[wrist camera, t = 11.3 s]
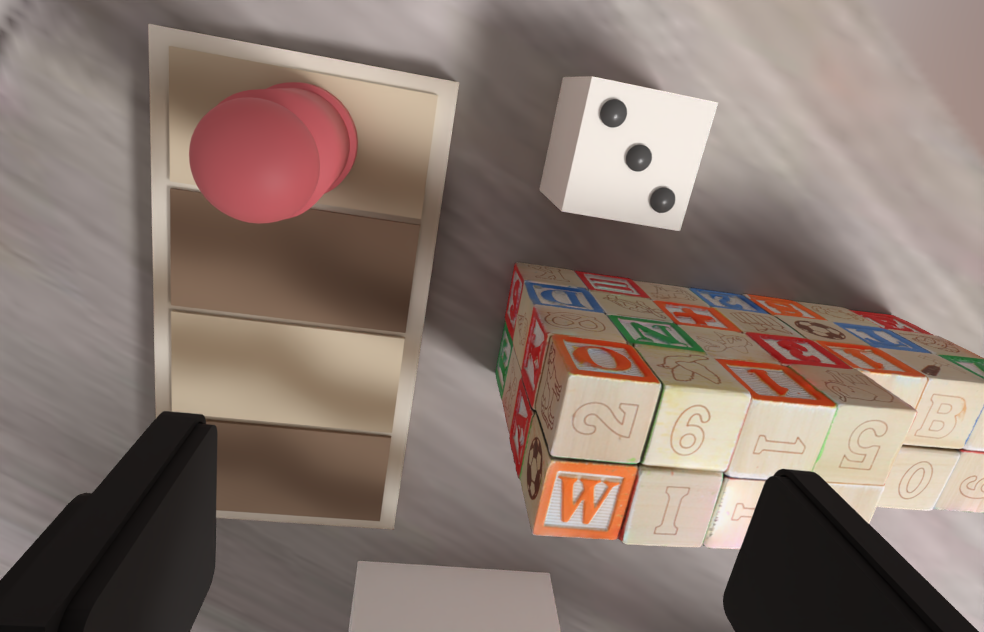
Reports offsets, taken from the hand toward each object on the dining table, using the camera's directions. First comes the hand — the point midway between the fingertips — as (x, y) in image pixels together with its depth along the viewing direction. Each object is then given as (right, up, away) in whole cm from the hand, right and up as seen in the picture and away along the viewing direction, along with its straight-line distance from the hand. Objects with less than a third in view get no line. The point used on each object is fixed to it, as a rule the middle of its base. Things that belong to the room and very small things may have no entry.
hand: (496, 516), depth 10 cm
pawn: (-8, +11, +15) cm, 20 cm away
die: (+5, +11, +18) cm, 22 cm away
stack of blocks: (+11, +2, +22) cm, 25 cm away
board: (-9, +4, +19) cm, 21 cm away
